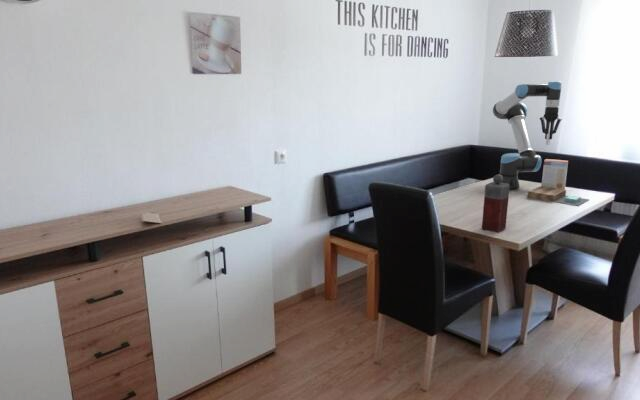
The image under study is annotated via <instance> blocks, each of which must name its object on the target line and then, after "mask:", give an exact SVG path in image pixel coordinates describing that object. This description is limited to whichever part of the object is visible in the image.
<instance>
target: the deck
mask: <svg viewBox="0 0 640 400" xmlns="http://www.w3.org/2000/svg"><path fill="white" fill-rule="evenodd" d="M566 193H567V189H565V190H562V189H556V188H549V187H543V186H537V187H535V188H533V189H530V190H528V191H527V198H528V199H534V200H539V201H541V200H542V201H546V202H551V203H555V202H554V201H556V200H558V199H560V198H562V197H564V196H567V195H566Z"/></svg>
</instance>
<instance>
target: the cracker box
mask: <svg viewBox="0 0 640 400" xmlns="http://www.w3.org/2000/svg"><path fill="white" fill-rule="evenodd" d="M568 165H569V160H562V159H553V158H552V159H550V158H546V159H544V161H543V170H542V179H541V184H540V185H541V186H543V187H549V188H556V189H562V190H566V185H567V174H568V167H569V166H568Z"/></svg>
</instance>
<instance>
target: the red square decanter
mask: <svg viewBox="0 0 640 400" xmlns="http://www.w3.org/2000/svg"><path fill="white" fill-rule="evenodd" d="M492 179H493V181H491V182H489V183H486V184H485V186H484V198H483V210H482V221H481V230H483V231H489V232H493V233H498V234H499V233H501V232H503V231H504V230H506V227H507V218H508V217H507V216H508V207H509V198H510V197H509V196H510V190H509V188H510V185H509V184H507V183H501V182H502V181H503V177H502V175H500V173H499V174H496V175H494V176H493V177H492Z"/></svg>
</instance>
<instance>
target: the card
mask: <svg viewBox="0 0 640 400" xmlns="http://www.w3.org/2000/svg"><path fill="white" fill-rule="evenodd" d="M567 196H568V197H566V198H565V201H567V202H573V203H576V202H578V201H580V199H581V198H582V197H581V196H578V195H577V196H576V195H567Z"/></svg>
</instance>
